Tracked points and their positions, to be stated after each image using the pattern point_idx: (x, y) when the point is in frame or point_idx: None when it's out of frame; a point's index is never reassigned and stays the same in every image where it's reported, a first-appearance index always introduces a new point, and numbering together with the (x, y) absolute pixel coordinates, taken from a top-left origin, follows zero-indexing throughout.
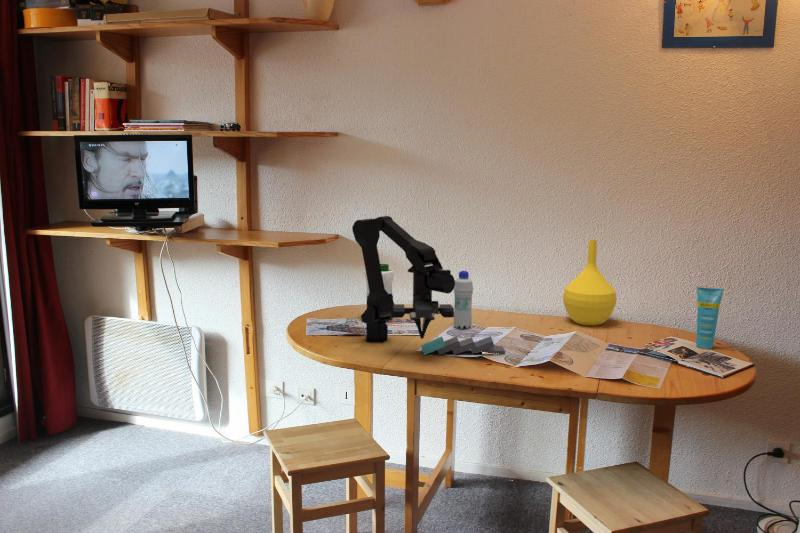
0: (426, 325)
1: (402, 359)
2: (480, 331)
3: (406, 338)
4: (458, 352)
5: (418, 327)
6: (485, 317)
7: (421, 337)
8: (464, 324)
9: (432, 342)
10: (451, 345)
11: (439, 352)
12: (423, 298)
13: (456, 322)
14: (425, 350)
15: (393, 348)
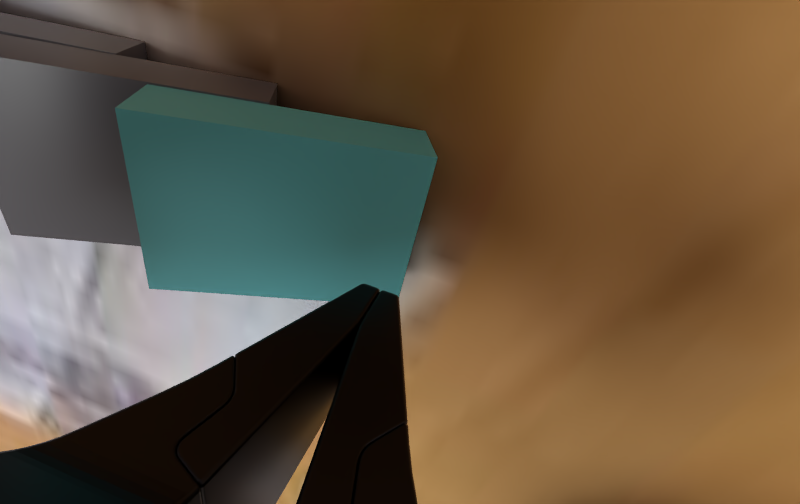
0: (180, 412)
1: (784, 37)
2: (48, 397)
3: (429, 489)
4: (81, 30)
5: (386, 446)
6: None
7: (384, 296)
8: None
9: (277, 236)
10: (76, 64)
11: (260, 89)
12: None
13: None
14: (399, 143)
15: (628, 395)
